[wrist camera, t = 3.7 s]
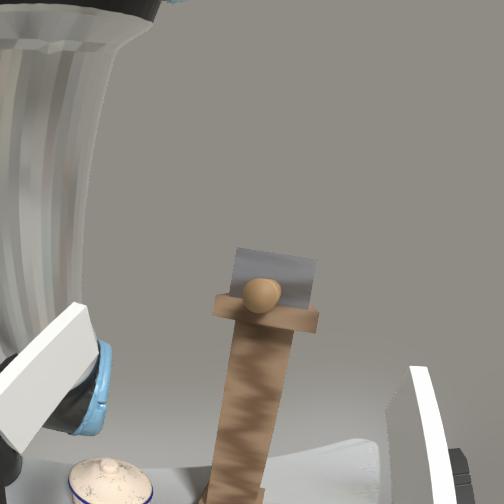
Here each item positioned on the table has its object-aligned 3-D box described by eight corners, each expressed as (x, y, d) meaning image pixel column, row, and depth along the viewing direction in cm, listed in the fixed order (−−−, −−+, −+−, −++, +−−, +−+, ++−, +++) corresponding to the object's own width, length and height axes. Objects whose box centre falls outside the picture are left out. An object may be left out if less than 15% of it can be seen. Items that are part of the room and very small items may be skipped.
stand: (185, 519, 29) (215, 295, 31) (204, 481, 39) (234, 292, 41) (263, 536, 27) (319, 312, 29) (269, 494, 37) (312, 305, 39)
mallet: (314, 322, 21) (326, 249, 21) (200, 302, 22) (212, 232, 23) (306, 306, 36) (313, 262, 36) (237, 294, 37) (244, 251, 37)
